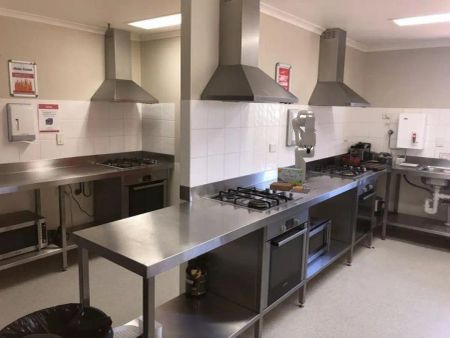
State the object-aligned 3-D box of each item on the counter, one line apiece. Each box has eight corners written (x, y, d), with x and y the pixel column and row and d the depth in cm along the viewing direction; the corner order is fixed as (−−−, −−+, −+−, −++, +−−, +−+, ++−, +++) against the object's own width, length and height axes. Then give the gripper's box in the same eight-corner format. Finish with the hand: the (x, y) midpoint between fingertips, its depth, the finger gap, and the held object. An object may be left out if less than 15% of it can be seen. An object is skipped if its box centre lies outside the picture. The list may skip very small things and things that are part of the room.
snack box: (276, 185, 315) (277, 167, 313) (278, 184, 320) (279, 166, 317) (301, 187, 305) (301, 169, 303) (302, 186, 310) (303, 168, 308)
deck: (273, 186, 306) (274, 181, 306) (293, 188, 300) (293, 183, 300) (269, 189, 293) (269, 184, 293) (289, 191, 287) (289, 186, 287)
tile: (303, 186, 294) (303, 189, 295) (296, 185, 296) (296, 188, 297) (301, 188, 286) (301, 191, 286) (294, 187, 288) (293, 190, 289)
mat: (294, 188, 301) (294, 187, 301) (310, 189, 296) (310, 189, 296) (290, 191, 286) (290, 191, 286) (307, 193, 281) (307, 193, 281)
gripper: (319, 131, 295) (318, 153, 298) (301, 130, 301) (300, 152, 304) (318, 131, 289) (316, 154, 291) (299, 130, 294) (298, 153, 297)
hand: (308, 153), depth 298 cm, fingers closed
